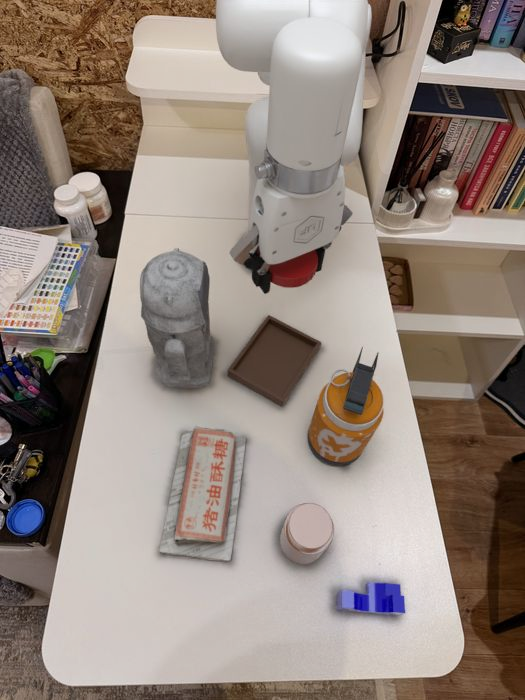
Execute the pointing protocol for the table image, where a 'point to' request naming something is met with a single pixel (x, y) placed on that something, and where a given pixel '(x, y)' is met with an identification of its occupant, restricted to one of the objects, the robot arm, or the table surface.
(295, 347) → the tray
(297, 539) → the jar
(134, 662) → the table surface
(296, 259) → the lid
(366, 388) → the canister
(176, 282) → the figurine
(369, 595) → the cable holder
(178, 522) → the packaged product
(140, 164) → the table surface
